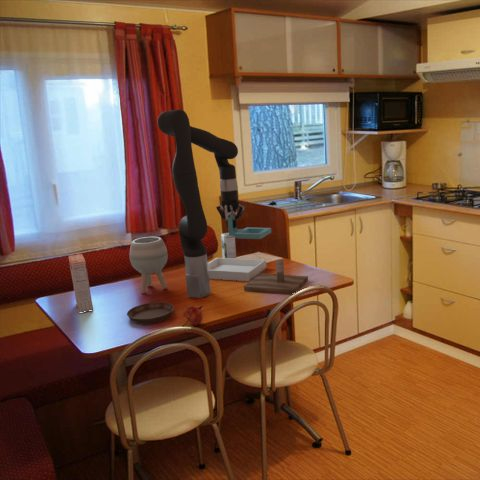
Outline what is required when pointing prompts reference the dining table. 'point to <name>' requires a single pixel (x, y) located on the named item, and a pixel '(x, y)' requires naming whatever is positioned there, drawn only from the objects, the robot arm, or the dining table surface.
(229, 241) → the syrup box
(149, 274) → the planter
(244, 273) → the tray
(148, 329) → the dining table surface
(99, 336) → the dining table surface
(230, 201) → the robot arm
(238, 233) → the teal frame with handle
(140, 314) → the plant saucer
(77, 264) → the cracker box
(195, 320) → the pomegranate
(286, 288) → the stake board
